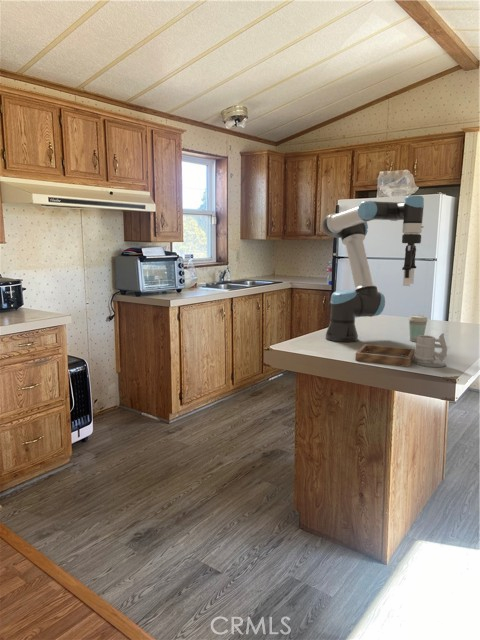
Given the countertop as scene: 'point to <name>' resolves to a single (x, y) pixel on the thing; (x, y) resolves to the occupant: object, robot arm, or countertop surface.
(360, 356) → the walnut tray
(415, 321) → the coffee cup
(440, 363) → the grey flat disc
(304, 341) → the countertop surface
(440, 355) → the mug
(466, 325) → the countertop surface
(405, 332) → the countertop surface
